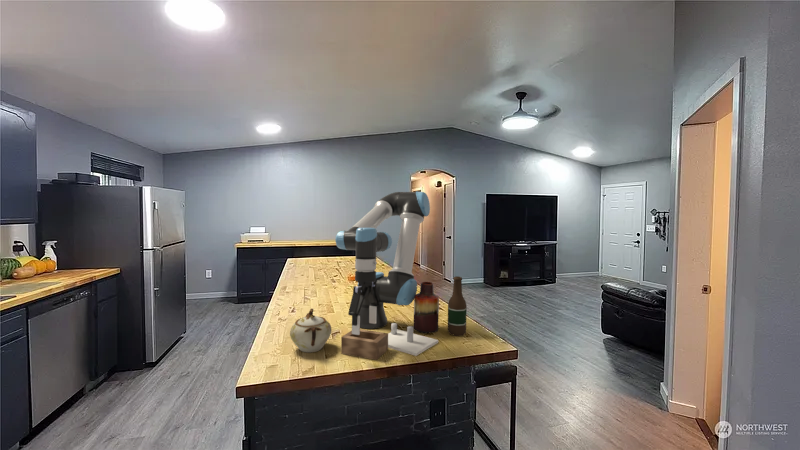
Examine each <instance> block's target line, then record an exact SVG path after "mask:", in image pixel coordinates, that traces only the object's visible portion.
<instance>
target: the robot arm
mask: <svg viewBox="0 0 800 450" xmlns="http://www.w3.org/2000/svg"><path fill="white" fill-rule="evenodd" d="M430 210H431V205H430V199H429V196H428V194H427V193H426V192H424V191H394V192H392V193H388V194H387V195H385V196H383V197H382V198H380V199H378V200H377V201H376V203H374V206H373V208H372V209H371V210H369V211H368V212H367V213H366V214H365V215H363V216H362V218H360V219H359V220H358V221H357V222H355V224H354V225H353V226H351V227H350V228H349V229H348V230H341V231H338V232H337V233H336V235H335V245H336V247H337V248H338V249H340V250H346V251H355V264H354V267H355V268H354V269H355V272H354V280H355V281H356V282H357V285H356V286H355V285H354V286H353V289H352V295H351V300H350V304H349V307H348V308H349V309H348V316H350V317H351V331H352V334H355V335H360V329H364V330H369V329H370V330H371V329H372V330H375V329H380V328H383V327H385V326H386V325H387V324H388V318H387V315H386V310H385V307H384V304H390V305H397V306H409V305H411V304H412V303H413V302H414V296H415V295H416V294H417V293H418V292H417V291H418V282H417V280H416V279H415V274H414V273H413V266H414V260H415V259H414V258H415V254H416V248H417V242H418V237H419V230H420V226H421V225H420V224H421V223H423V222H424V219H425V217H429V216H430V212H431V211H430ZM396 216H397V217H398V216H399V218H400V220H401V225H400V229H399V234H398V235H399V236H398V239H397V245H396V250H395V256H394V260H393V266H392V269H390V270H389V271H388V273H387V276H385V274H384V272H383V271H376V269H377V263H378V262H377V253H378V252H379V253H381V252H386V251H388V250H389V249H390V248H391V247H392V244H393V238H392V236H391V235H390V233H388V232H384V231H378V230H377V228H378V227H379V226H380V225H381V224H382V223H383V222H384V221H385V220H388V219H390V218H391V217H396ZM377 231H378V232H377Z"/></svg>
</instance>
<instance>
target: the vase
mask: <svg viewBox="0 0 800 450" xmlns="http://www.w3.org/2000/svg"><path fill="white" fill-rule="evenodd" d="M434 291H435V289H434V283H433V282H432V281H421V283H420V290H419V292H417V293H416V295H415V296H414V300H413V326H412V327H413V331H415V332H418V333H422V334H434V333H437V332H438V331H439V315H440V314H439V313H440V312H439V310H440V297H439V295H438V294H435V292H434Z"/></svg>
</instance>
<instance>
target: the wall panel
mask: <svg viewBox="0 0 800 450" xmlns="http://www.w3.org/2000/svg"><path fill="white" fill-rule="evenodd" d="M390 328H391V330H390V332H387V333H388V349H392V350H395V351H398V352H402V353H404V354H409V355H412V356H415V357H417V356H418V355H419V354H421V353H422V354H423V352H425V351H427V350H428V349H429V348H431V347H433V346H435V345H437V344H438V343H439V339H437V338H433V337H428V336H424V335H420V334H416V333H414V328H413V326H410V325H409V326H407V327H406V330H401V329H398V323H396V322H392V323H391V326H390Z"/></svg>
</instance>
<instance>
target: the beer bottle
mask: <svg viewBox="0 0 800 450" xmlns="http://www.w3.org/2000/svg"><path fill="white" fill-rule="evenodd" d="M452 279H453V286H452V288H453V289H452V295H451V297H450V298H449V300H448V303H447V333H448V334H449V335H451V336H454V337H463V336H464V335H466V333H467V313H468V312H467V309H468V308H467V302H466V300H465V297H464V296H463V286H462V285H463V283H462V282H463V281H462V280H463V278H462V277H461V276H459V275H458V276H454V277H453V278H452Z"/></svg>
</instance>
